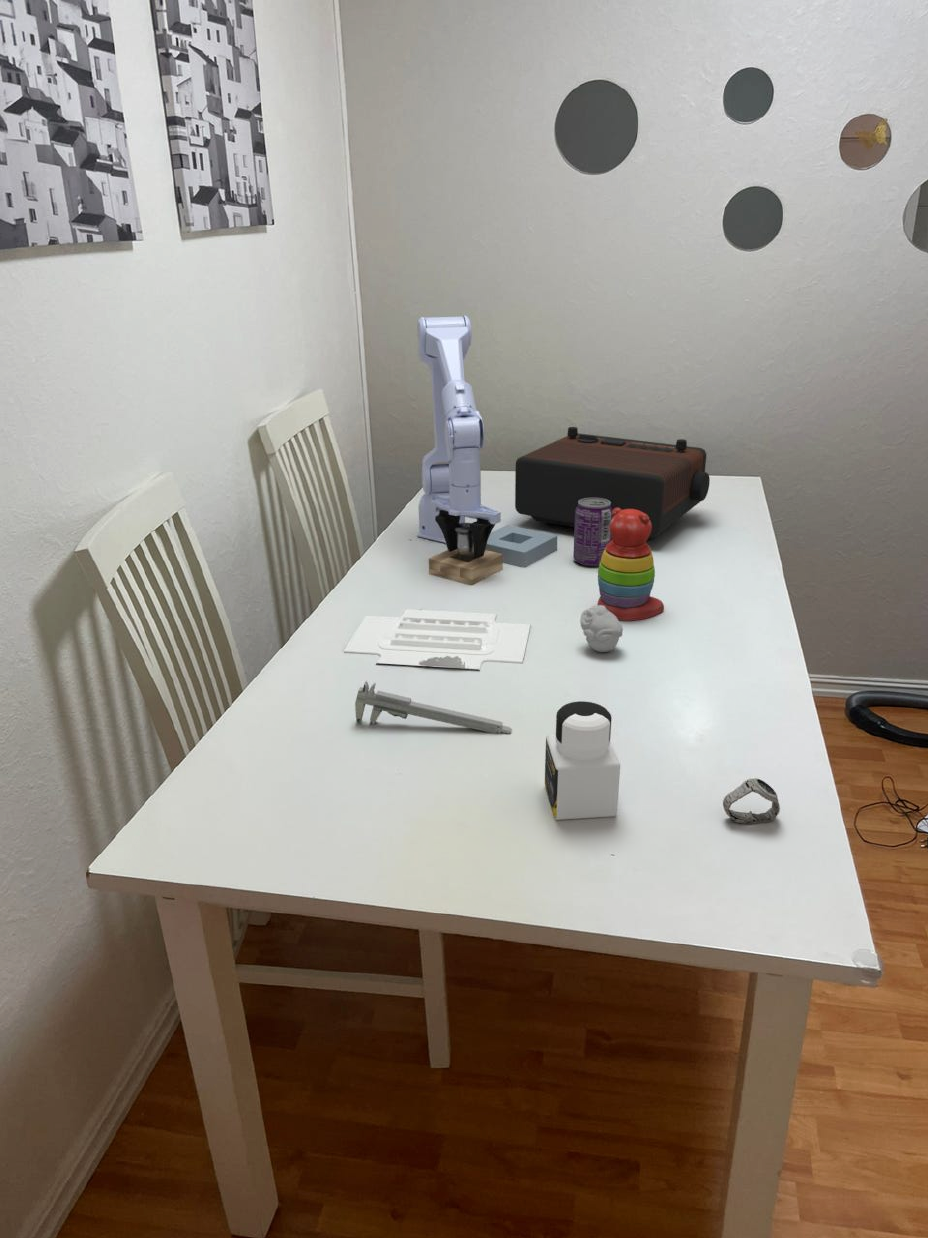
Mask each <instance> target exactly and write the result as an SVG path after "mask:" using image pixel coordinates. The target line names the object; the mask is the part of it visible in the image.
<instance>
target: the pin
mask: <svg viewBox="0 0 928 1238" xmlns="http://www.w3.org/2000/svg"><path fill="white" fill-rule="evenodd" d="M471 523H472V522H465V523H459V524H456V525H455V532H457V560H461V561H465V562H470V561H472V560H474V542H473V536H472V532H471V528H470V524H471Z"/></svg>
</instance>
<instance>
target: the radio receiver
mask: <svg viewBox="0 0 928 1238" xmlns="http://www.w3.org/2000/svg"><path fill="white" fill-rule="evenodd" d="M578 431H579V430H578V427H576V426H569V427H568V428H567V435H566V436H564V437H562V438H559V439H558V440H555V441H552V442H551V443H549V444H546V445H544V446H542V447H540V448H537V449H535V450H533V451H531V452H528V453H527V454H524V455H522V456H520V457H518V458H517V459H516V460H515V472H514V473H515V476H514V477H515V479H514V481H515V485H514V487H515V490H514V507H515V510H516V512H517V513H518V514H520V515H524V516H530V518H532V519H533V520H534V521H538V522H542V523H545V524H547V525H548V524H549V525H550V524H554V525H559V526H560V525H561V526H566V527H571V528H575V510H576V508H577V506H578V501H579V500H581V499H584V498H603V499H607V500H609V501H610V502H611V505H610V506H611V508H612V511H613V510H614V509H615V508H620V509H621V510H624V509H635V510H639V511H641V512H643V513H645V514H647V515H648V517H649V520H650V522H651V524H652V530H651V533H650V536H649V537H648V539H647V540H646V541H651V540H653V539H654V538H656V537H658V535H660V534H661V533H663V532H664V531H665V530H666V529H668V528H669V527H670V526H672V525H673V524H674V523H675V522H677V521H678V520H679V519H680V518H682V517H683V516H684V515H685V514H687V513H688V512H689V511H691V510H692V509H693V508H694V507H696V506H697V505H698V504H700V502H704V501H705V499H706V498H707V495H708V492H709V489H710V478H711V477H710V474H709V473H708V472H707V471H706V462H707V452H706V450H705V449H704V448H702V447H696V446H688V444H687V443H688V442H687V441H688V440H686V439H683V438H682V439H681V438H680V439H677V440H676V442H675V444H671V443H664V442H663V443H662V442H655V441H654V442H653V441H645V440H639V439H638V440H637V439H629V438H622V437H612V436H611V437H610V436H603V435H595V434H589V433H588V434H586V433H579V432H578Z"/></svg>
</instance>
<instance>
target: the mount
mask: <svg viewBox="0 0 928 1238" xmlns="http://www.w3.org/2000/svg"><path fill="white" fill-rule="evenodd" d="M503 564H504V562H503V554H500V553H496V552H492V551H488V550H485V552H484V556H482V557H480V558H475V556H474V560H472V561H470V562H465V561H461V560H457V549H456V550H454V551H452V552H449V551H448V549H446V550H445V551H443V552H441V553H438V554H435V555H433V556H431V557H429V558H428V574H429V575H432V576H436V577H440V578H443V579H447V580H452V581H456V582H458V583H462V584H466V585H469V586H473V585H475V584H477V583H479V582H480V581H482V580H485V579H486V578H488V577H490V576H492V575H494V574H496V573H497V572H500V571H502V570H503V568H504V565H503Z"/></svg>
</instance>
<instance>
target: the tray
mask: <svg viewBox="0 0 928 1238" xmlns="http://www.w3.org/2000/svg"><path fill="white" fill-rule="evenodd" d="M496 621H497V613H484V612H483V613H482V612H466V611H465V612H463V611H462V612H461V611H447V610H446V611H443V610H442V611H441V610H428V609H427V610H426V609H424V610H423V609H405V610H404V612H403V614H402V615H401V616H398V617H396V616H375V615H365V617H364V618H363V620H362V621H361V623H360V625H359V626H358V627H357V629H356V631H355V632H354V634H353V636H352V637H351V639H350V640H349V642H348V644H347V645H346V646H345V648H344V650H343V654H353V655H354V654H357V655H358V654H359V655H373V656H374V655H377V656H379V659H378V660H377V662H376V665H377V664H386V665H387V664H388V665H389V664H390V665H403V666H404V665H405V666H419V667H420V666H421V667H435V668H453V669H467V670H468V669H469V670H479V671H481V669H482V666H483V664H485V663H486V662H488V663H489V662H490V663H491V662H492V663H507V664H522V665H523V663H524V656H525V652H526V648H527V643H528V639H529V635H530V628H531V626H532V625H531V624H529V623H528V624H525V623H524V624H523V623H510V622H509V623H508V622H496Z"/></svg>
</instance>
